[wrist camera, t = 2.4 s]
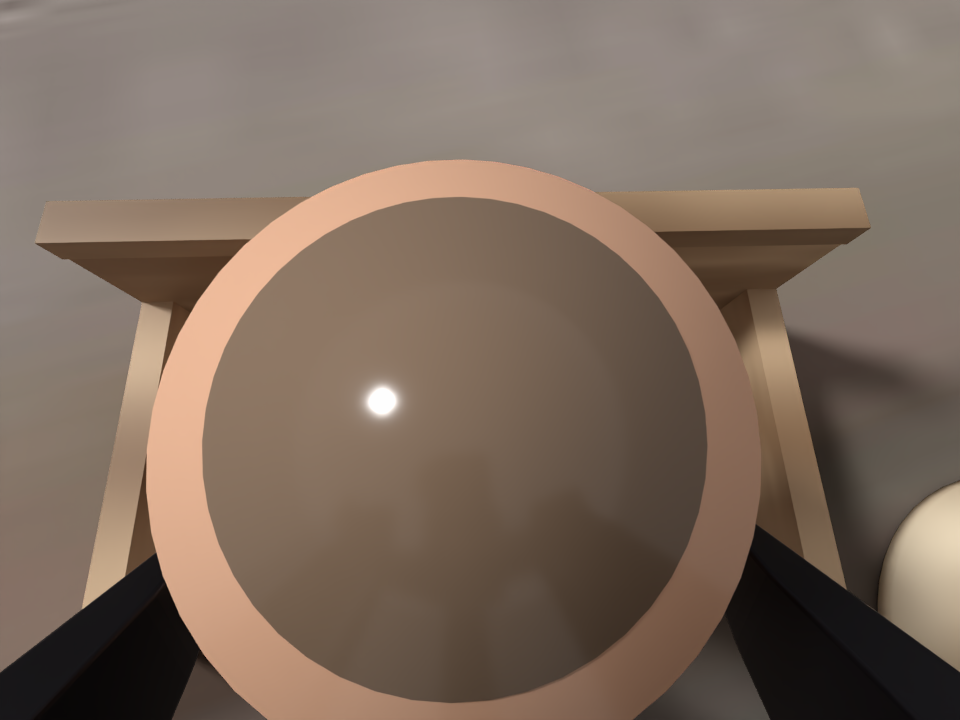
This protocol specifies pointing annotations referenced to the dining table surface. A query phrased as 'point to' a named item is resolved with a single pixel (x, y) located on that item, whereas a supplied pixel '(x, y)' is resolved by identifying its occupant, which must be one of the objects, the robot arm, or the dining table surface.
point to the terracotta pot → (453, 455)
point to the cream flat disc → (926, 575)
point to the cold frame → (670, 214)
